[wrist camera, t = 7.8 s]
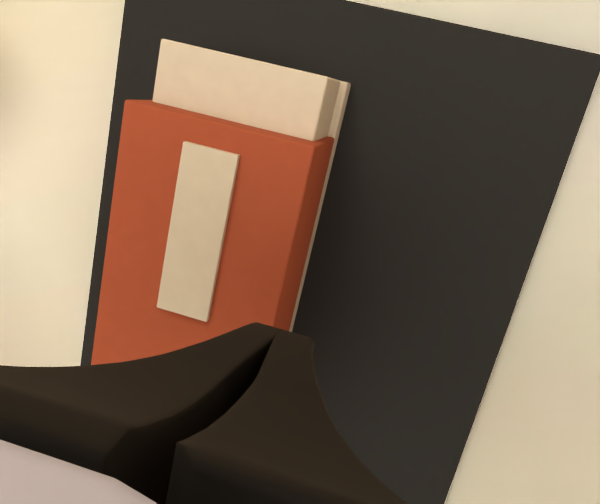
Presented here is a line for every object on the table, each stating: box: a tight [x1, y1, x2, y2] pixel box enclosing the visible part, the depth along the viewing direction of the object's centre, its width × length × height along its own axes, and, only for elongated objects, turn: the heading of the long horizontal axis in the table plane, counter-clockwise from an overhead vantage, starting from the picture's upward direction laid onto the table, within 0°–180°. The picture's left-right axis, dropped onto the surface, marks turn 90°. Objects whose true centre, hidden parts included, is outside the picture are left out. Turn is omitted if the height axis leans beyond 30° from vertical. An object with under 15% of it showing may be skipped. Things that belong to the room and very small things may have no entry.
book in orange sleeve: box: [91, 39, 351, 365], centre depth 19 cm, size 12×5×6 cm
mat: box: [81, 0, 600, 504], centre depth 21 cm, size 18×16×1 cm
